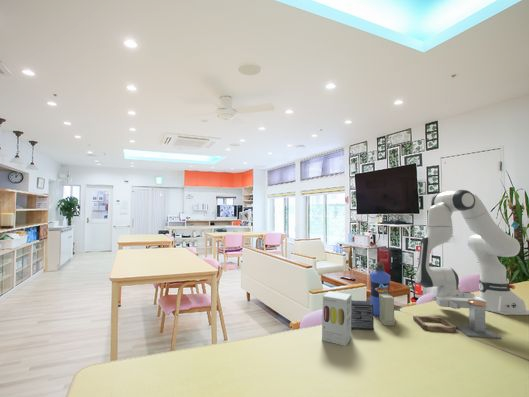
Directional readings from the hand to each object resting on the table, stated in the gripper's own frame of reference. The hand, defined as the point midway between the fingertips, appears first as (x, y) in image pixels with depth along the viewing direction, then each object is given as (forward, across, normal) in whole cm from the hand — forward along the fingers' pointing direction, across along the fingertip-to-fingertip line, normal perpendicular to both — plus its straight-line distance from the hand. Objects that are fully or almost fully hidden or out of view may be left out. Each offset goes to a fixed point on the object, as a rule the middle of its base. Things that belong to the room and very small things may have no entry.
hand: (469, 307), depth 128 cm
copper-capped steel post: (+6, 0, +8) cm, 10 cm away
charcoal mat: (+6, 0, +8) cm, 10 cm away
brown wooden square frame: (+1, -15, +8) cm, 17 cm away
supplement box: (+22, -59, +9) cm, 64 cm away
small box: (+8, -48, +9) cm, 50 cm away
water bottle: (-10, -35, +9) cm, 38 cm away
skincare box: (+2, -35, +9) cm, 36 cm away
